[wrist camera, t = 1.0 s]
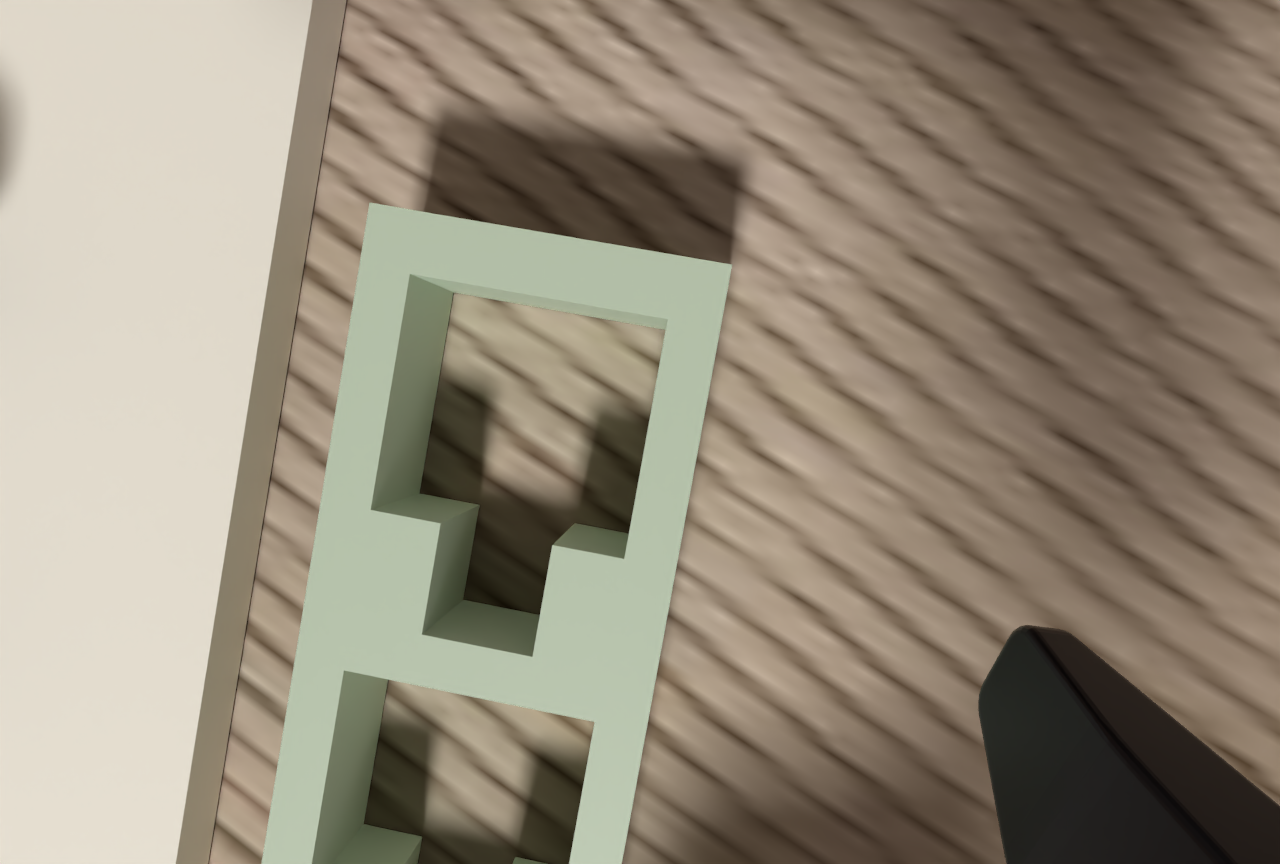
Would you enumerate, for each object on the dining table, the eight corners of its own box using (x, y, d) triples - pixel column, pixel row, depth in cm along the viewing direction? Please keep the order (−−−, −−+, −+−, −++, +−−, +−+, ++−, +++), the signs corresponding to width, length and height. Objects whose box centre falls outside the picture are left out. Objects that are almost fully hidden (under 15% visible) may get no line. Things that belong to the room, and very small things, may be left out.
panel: (591, 1021, 20) (572, 1127, 17) (298, 955, 21) (230, 1048, 18) (727, 285, 20) (731, 264, 17) (419, 231, 20) (369, 202, 17)
